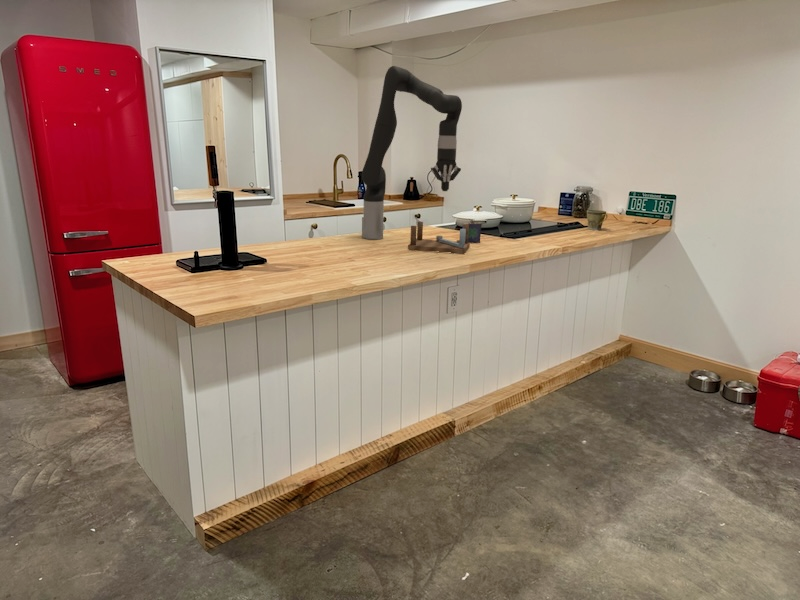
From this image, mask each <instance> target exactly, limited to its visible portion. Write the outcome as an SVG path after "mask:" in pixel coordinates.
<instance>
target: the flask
mask: <svg viewBox="0 0 800 600" xmlns="http://www.w3.org/2000/svg"><path fill="white" fill-rule="evenodd" d="M464 224H467V225H469V233H468V243H470V244H479V243H481V236H482V235H481V233H482V223H481V222H480V221H479V222H478V221H474V219H473V218H471V219H470V221H469V222H465V223H463V222H462V226H463V225H464ZM461 229H463V227H462V228H461Z"/></svg>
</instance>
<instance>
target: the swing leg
mask: <svg viewBox="0 0 800 600" xmlns="http://www.w3.org/2000/svg"><path fill="white" fill-rule="evenodd" d="M465 236H466V229H462V228H459V239H458V240H459V243H456V242H457V241H454V242H453V240H449V239H445V238H443V235H436V239H435V240H436V241H438V242H442V243H446V244H449V245H452V246H456V247H459V248H464V245H465Z"/></svg>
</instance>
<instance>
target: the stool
mask: <svg viewBox="0 0 800 600" xmlns="http://www.w3.org/2000/svg"><path fill="white" fill-rule="evenodd" d="M462 228H463V229H466V236H465V245H464V248H459V247H456V246H452V245H449V244H446V243H442V242H438V241H436V239H427V238H426V239H425V238H424V239H423V235H424V234H423V233H424V231H423V229H424V221H419V220H418V221H417V225H410V242H409V244H408V245H407V250H408V249H409V250H408V251H415V250H423V251H422V252H428V251H439V252H438V253H441V252H451V253H450V254H454V253H462V254H461V255H465V254H466V253H467V251H468V250H469V249H470V246H471V245H470V244H471V243H468V233H469V225H467V224H464V225H463V224H462ZM452 241H453V240H452ZM453 242H456V243H459V239H457V240H456V241H453ZM464 253H465V254H464Z"/></svg>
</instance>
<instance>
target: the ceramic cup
mask: <svg viewBox="0 0 800 600" xmlns="http://www.w3.org/2000/svg"><path fill="white" fill-rule="evenodd" d="M586 218H587V230H588V229H589V231H595V230H599V231H601V230H602V226H603V223H604V221H606V220H607V219H608V214H607V211H606V210H601V209H587V210H586Z"/></svg>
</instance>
